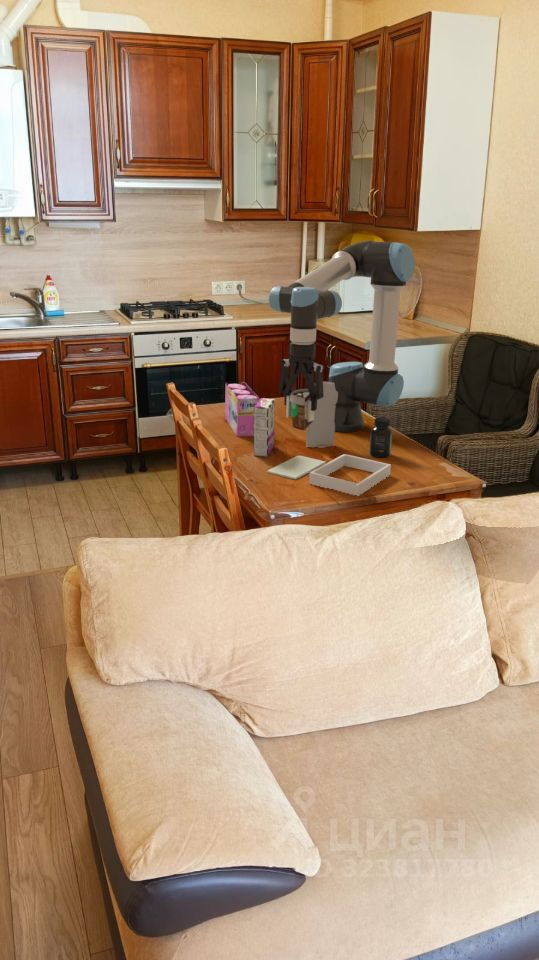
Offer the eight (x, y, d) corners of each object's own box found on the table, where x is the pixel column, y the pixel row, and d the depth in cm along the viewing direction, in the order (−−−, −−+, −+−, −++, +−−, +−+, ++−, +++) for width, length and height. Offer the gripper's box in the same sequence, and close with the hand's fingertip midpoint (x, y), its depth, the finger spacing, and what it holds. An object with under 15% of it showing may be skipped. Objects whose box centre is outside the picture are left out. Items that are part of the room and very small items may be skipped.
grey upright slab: (332, 443, 263) (336, 379, 255) (337, 446, 259) (341, 382, 251) (303, 445, 260) (305, 380, 252) (307, 449, 256) (310, 383, 248)
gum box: (223, 417, 288) (223, 381, 284) (244, 416, 290) (244, 381, 285) (237, 437, 267) (237, 398, 262) (259, 435, 269) (260, 397, 264)
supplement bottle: (394, 455, 252) (397, 420, 248) (379, 459, 248) (382, 423, 244) (379, 450, 257) (382, 415, 253) (364, 454, 253) (367, 418, 249)
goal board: (298, 457, 248) (298, 455, 248) (325, 463, 243) (325, 461, 243) (267, 472, 234) (267, 470, 234) (295, 479, 229) (295, 477, 229)
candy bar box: (259, 445, 258) (260, 397, 253) (274, 446, 258) (275, 398, 252) (252, 456, 248) (253, 406, 242) (267, 457, 247) (269, 407, 242)
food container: (295, 418, 240) (296, 386, 237) (314, 420, 238) (315, 388, 235) (283, 429, 229) (284, 396, 226) (303, 431, 227) (304, 398, 224)
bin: (343, 464, 243) (344, 453, 241) (390, 475, 235) (390, 464, 233) (309, 483, 226) (309, 472, 225) (357, 496, 218) (358, 484, 217)
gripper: (338, 344, 223) (334, 421, 231) (281, 336, 233) (279, 410, 241) (326, 348, 217) (322, 427, 225) (267, 339, 227) (265, 415, 235)
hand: (299, 418), depth 233 cm, fingers closed on food container, 7 cm apart
